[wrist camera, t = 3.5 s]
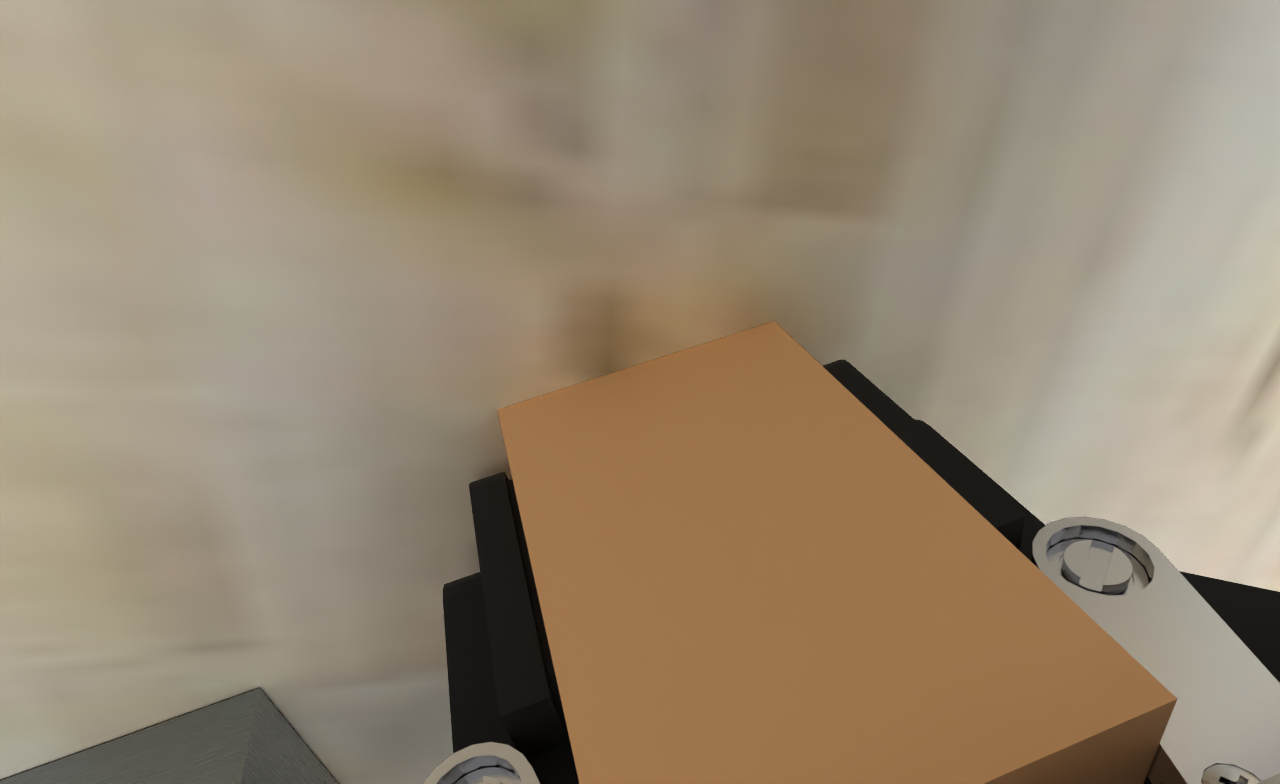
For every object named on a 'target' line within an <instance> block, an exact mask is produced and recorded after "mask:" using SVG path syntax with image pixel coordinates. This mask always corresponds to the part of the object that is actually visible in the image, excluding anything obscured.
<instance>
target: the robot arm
mask: <svg viewBox="0 0 1280 784" xmlns="http://www.w3.org/2000/svg"><path fill="white" fill-rule="evenodd" d="M823 367H824V368H825V369H826V370H827V371H828V372H829V373H830V374H831V375H832V376H833V377H834V378H836V379H837V380H838V381H839V382H840V383H841V384H842V385H843V386H844V387H845V388H846V389H847V390H848V391H849V392H851V393H852V394H853V395H854V396H855V397H856V398H857V399H858V400H859V401H860V402H861V403H862V404H863V405H864V406H865V407H867V408H868V409H869V410H870V411H871V412H872V413H873V414H874V415H875V416H876V417H877V418H878V419H879V420H880V421H881V422H883V423H884V424H885V425H886V426H887V427H888V428H889V429H890V430H891V431H892V432H893V433H894V434H895V435H896V436H897V437H899V438H900V439H901V440H902V441H903V442H904V443H905V444H906V445H907V446H908V447H909V448H910V449H911V450H912V451H914V452H915V453H916V454H917V455H918V456H919V457H920V458H921V459H922V460H923V461H924V462H925V463H926V464H927V465H928V466H930V467H931V468H932V469H933V470H934V471H935V472H936V473H937V474H938V475H939V476H940V477H941V478H942V479H943V480H944V481H946V482H947V483H948V484H949V485H950V486H951V487H952V488H953V489H954V490H955V491H956V492H957V493H958V494H959V495H960V496H962V497H963V498H964V499H965V500H966V501H967V502H968V503H969V504H970V505H971V506H972V507H973V508H974V509H975V510H977V511H978V512H979V513H980V514H981V515H982V516H983V517H984V518H985V519H986V520H987V521H988V522H989V523H990V524H991V525H993V526H994V527H995V528H996V529H997V530H998V531H999V532H1000V533H1001V534H1002V535H1003V536H1004V537H1005V538H1006V539H1007V540H1009V541H1010V542H1011V543H1012V544H1013V545H1014V546H1015V547H1016V548H1017V549H1018V550H1019V551H1020V552H1021V553H1022V554H1023V555H1025V556H1026V557H1027V558H1028V559H1029V560H1030V561H1031V562H1032V563H1033V564H1034V565H1035V566H1036V567H1037V568H1038V569H1040V570H1041V571H1042V572H1043V573H1044V574H1045V575H1046V576H1047V577H1048V578H1049V579H1050V580H1051V581H1052V582H1053V583H1054V584H1056V585H1057V586H1058V587H1059V588H1060V589H1061V590H1062V591H1063V592H1064V593H1065V594H1066V595H1067V596H1068V597H1069V598H1070V599H1072V600H1073V601H1074V602H1075V603H1076V604H1077V605H1078V606H1079V607H1080V608H1081V609H1082V610H1083V611H1084V612H1085V613H1086V614H1088V615H1089V616H1090V617H1091V618H1092V619H1093V620H1094V621H1095V622H1096V623H1097V624H1098V625H1099V626H1100V627H1101V628H1103V629H1104V630H1105V631H1106V632H1107V633H1108V634H1109V635H1110V636H1111V637H1112V638H1113V639H1114V640H1115V641H1116V642H1117V643H1119V644H1120V645H1121V646H1122V647H1123V648H1124V649H1125V650H1126V651H1127V652H1128V653H1129V654H1130V655H1131V656H1132V657H1133V658H1135V659H1136V660H1137V661H1138V662H1139V663H1140V664H1141V665H1142V666H1143V667H1144V668H1145V669H1146V670H1147V671H1148V672H1149V673H1151V674H1152V675H1153V676H1154V677H1155V678H1156V679H1157V680H1158V681H1159V682H1160V683H1161V684H1162V685H1163V686H1164V687H1166V688H1167V689H1168V690H1169V691H1170V692H1171V693H1172V694H1173V695H1174V696H1175V697H1176V698H1177V701H1176V704H1175V706H1174V709H1173V711H1172V714H1171V716H1170V719H1169V721H1168V724H1167V726H1166V729H1165V731H1164V734H1163V736H1162V739H1161V741H1160V744H1159V746H1158V749H1157V751H1156V753H1155V756H1154V758H1153V761H1152V763H1151V766H1150V768H1149V771H1148V773H1147V776H1146V778H1145V781H1144V783H1143V784H1280V592H1277V591H1272V590H1267V589H1262V588H1257V587H1253V586H1248V585H1243V584H1238V583H1233V582H1228V581H1224V580H1219V579H1214V578H1209V577H1204V576H1199V575H1194V574H1190V573H1185V572H1180V571H1178V570H1177V569H1176V568H1175V566H1174V565H1173V564H1172V563H1171V562H1170V561H1169V560H1168V559H1167V558H1166V556H1165V555H1164V554H1163V553H1162V552H1161V551H1160V550H1159V549H1158V548H1157V547H1156V546H1155V545H1154V544H1152V543H1151V542H1150V541H1149V540H1148V539H1147V538H1145V537H1144V536H1143V535H1141V534H1139V533H1137V532H1135V531H1133V530H1132V529H1130V528H1128V527H1126V526H1123V525H1120V524H1117V523H1114V522H1111V521H1108V520H1105V519H1098V518H1091V517H1070V518H1063V519H1060V520H1057V521H1054V522H1050V523H1049V524H1047V525H1044V524H1043V523H1042V522H1041V521H1040V520H1039V519H1037V518H1036V517H1035V516H1034V515H1033V514H1032V513H1031V512H1029V511H1028V510H1027V509H1026V508H1025V507H1024V506H1022V505H1021V504H1020V503H1019V502H1018V501H1017V500H1015V499H1014V498H1013V497H1012V496H1011V495H1010V494H1008V493H1007V492H1006V491H1005V490H1004V489H1003V488H1001V487H1000V486H999V485H998V484H997V483H996V482H994V481H993V480H992V479H991V478H990V477H989V476H987V475H986V474H985V473H984V472H983V471H982V470H980V469H979V468H978V467H977V466H976V465H975V464H974V463H972V462H971V461H970V460H969V459H968V458H967V457H965V456H964V455H963V454H962V453H961V452H960V451H958V450H957V449H956V448H955V447H954V446H953V445H951V444H950V443H949V442H948V441H947V440H946V439H944V438H943V437H942V436H941V435H940V434H939V433H937V432H936V431H935V430H934V429H933V428H932V427H930V426H929V425H928V424H926V423H925V422H923V421H920V420H914V419H913V418H912V417H911V416H909V415H908V414H907V413H906V412H905V411H904V410H902V409H901V408H900V407H899V406H898V405H897V404H896V403H894V402H893V401H892V400H891V399H890V398H889V397H888V396H886V395H885V394H884V393H883V392H882V391H881V390H880V389H878V388H877V387H876V386H875V385H874V384H873V383H872V382H870V381H869V380H868V379H867V378H866V377H865V376H864V375H862V374H861V373H860V372H859V371H858V370H857V369H856V368H854V367H853V366H852V365H851V364H850V363H849V362H847V361H845V360H838V361H835V362H832V363H829V364H826V365H823ZM469 489H470V497H471V504H472V512H473V519H474V527H475V534H476V542H477V549H478V557H479V565H480V572H478V573H476V574H473V575H470V576H467V577H464V578H461V579H459V580H456V581H453V582H450V583H447V584H444V588H443V607H444V621H445V636H446V651H447V666H448V681H449V696H450V711H451V725H452V740H453V754H452V755H451V756H450V757H448V758H447V759H446V760H444V761H443V762H442V763H441V764H439V765H438V766H437V767H436V768H435V769H434V770H433V771H432V773H431V774H430V775H429V776H428V778H427V779H426V780H425V781H424V783H423V784H579V779H578V775H577V770H576V766H575V761H574V757H573V752H572V748H571V743H570V738H569V734H568V729H567V725H566V720H565V716H564V711H563V707H562V702H561V698H560V693H559V688H558V684H557V679H556V675H555V670H554V666H553V661H552V657H551V652H550V647H549V643H548V638H547V634H546V629H545V625H544V620H543V616H542V611H541V607H540V602H539V597H538V593H537V588H536V584H535V579H534V575H533V570H532V566H531V561H530V556H529V552H528V547H527V543H526V538H525V534H524V529H523V525H522V520H521V516H520V511H519V506H518V502H517V497H516V493H515V488H514V484H513V479H511V480H508V477H507V475H506V473H505V472H501V473H498V474H495V475H492V476H489V477H486V478H483V479H480V480H477V481H474V482H471V483H470V484H469Z"/></svg>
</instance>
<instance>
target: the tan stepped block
mask: <svg viewBox="0 0 1280 784" xmlns="http://www.w3.org/2000/svg"><path fill="white" fill-rule="evenodd" d="M497 411H498V415H499V420H500V425H501V429H502V434H503V438H504V443H505V447H506V452H507V456H508V461H509V465H510V470H511V475H512V479H513V484H514V488H515V493H516V497H517V502H518V506H519V511H520V516H521V520H522V525H523V529H524V534H525V538H526V543H527V547H528V552H529V556H530V561H531V566H532V570H533V575H534V579H535V584H536V588H537V593H538V597H539V602H540V607H541V611H542V616H543V620H544V625H545V629H546V634H547V638H548V643H549V647H550V652H551V657H552V661H553V666H554V670H555V675H556V679H557V684H558V688H559V693H560V698H561V702H562V707H563V711H564V716H565V720H566V725H567V729H568V734H569V738H570V743H571V748H572V752H573V757H574V761H575V766H576V770H577V775H578V779H579V784H1143V783H1144V781H1145V778H1146V776H1147V773H1148V771H1149V768H1150V766H1151V763H1152V761H1153V758H1154V756H1155V753H1156V751H1157V749H1158V746H1159V744H1160V741H1161V739H1162V736H1163V734H1164V731H1165V729H1166V726H1167V724H1168V721H1169V719H1170V716H1171V714H1172V711H1173V709H1174V706H1175V704H1176V701H1177V698H1176V697H1175V696H1174V695H1173V694H1172V693H1171V692H1170V691H1169V690H1168V689H1167V688H1166V687H1164V686H1163V685H1162V684H1161V683H1160V682H1159V681H1158V680H1157V679H1156V678H1155V677H1154V676H1153V675H1152V674H1151V673H1149V672H1148V671H1147V670H1146V669H1145V668H1144V667H1143V666H1142V665H1141V664H1140V663H1139V662H1138V661H1137V660H1136V659H1135V658H1133V657H1132V656H1131V655H1130V654H1129V653H1128V652H1127V651H1126V650H1125V649H1124V648H1123V647H1122V646H1121V645H1120V644H1119V643H1117V642H1116V641H1115V640H1114V639H1113V638H1112V637H1111V636H1110V635H1109V634H1108V633H1107V632H1106V631H1105V630H1104V629H1103V628H1101V627H1100V626H1099V625H1098V624H1097V623H1096V622H1095V621H1094V620H1093V619H1092V618H1091V617H1090V616H1089V615H1088V614H1086V613H1085V612H1084V611H1083V610H1082V609H1081V608H1080V607H1079V606H1078V605H1077V604H1076V603H1075V602H1074V601H1073V600H1072V599H1070V598H1069V597H1068V596H1067V595H1066V594H1065V593H1064V592H1063V591H1062V590H1061V589H1060V588H1059V587H1058V586H1057V585H1056V584H1054V583H1053V582H1052V581H1051V580H1050V579H1049V578H1048V577H1047V576H1046V575H1045V574H1044V573H1043V572H1042V571H1041V570H1040V569H1038V568H1037V567H1036V566H1035V565H1034V564H1033V563H1032V562H1031V561H1030V560H1029V559H1028V558H1027V557H1026V556H1025V555H1023V554H1022V553H1021V552H1020V551H1019V550H1018V549H1017V548H1016V547H1015V546H1014V545H1013V544H1012V543H1011V542H1010V541H1009V540H1007V539H1006V538H1005V537H1004V536H1003V535H1002V534H1001V533H1000V532H999V531H998V530H997V529H996V528H995V527H994V526H993V525H991V524H990V523H989V522H988V521H987V520H986V519H985V518H984V517H983V516H982V515H981V514H980V513H979V512H978V511H977V510H975V509H974V508H973V507H972V506H971V505H970V504H969V503H968V502H967V501H966V500H965V499H964V498H963V497H962V496H960V495H959V494H958V493H957V492H956V491H955V490H954V489H953V488H952V487H951V486H950V485H949V484H948V483H947V482H946V481H944V480H943V479H942V478H941V477H940V476H939V475H938V474H937V473H936V472H935V471H934V470H933V469H932V468H931V467H930V466H928V465H927V464H926V463H925V462H924V461H923V460H922V459H921V458H920V457H919V456H918V455H917V454H916V453H915V452H914V451H912V450H911V449H910V448H909V447H908V446H907V445H906V444H905V443H904V442H903V441H902V440H901V439H900V438H899V437H897V436H896V435H895V434H894V433H893V432H892V431H891V430H890V429H889V428H888V427H887V426H886V425H885V424H884V423H883V422H881V421H880V420H879V419H878V418H877V417H876V416H875V415H874V414H873V413H872V412H871V411H870V410H869V409H868V408H867V407H865V406H864V405H863V404H862V403H861V402H860V401H859V400H858V399H857V398H856V397H855V396H854V395H853V394H852V393H851V392H849V391H848V390H847V389H846V388H845V387H844V386H843V385H842V384H841V383H840V382H839V381H838V380H837V379H836V378H834V377H833V376H832V375H831V374H830V373H829V372H828V371H827V370H826V369H825V368H824V367H823V366H822V365H821V364H820V363H818V362H817V361H816V360H815V359H814V358H813V357H812V356H811V355H810V354H809V353H808V352H807V351H806V350H805V349H804V348H802V347H801V346H800V345H799V344H798V343H797V342H796V341H795V340H794V339H793V338H792V337H791V336H790V335H789V334H788V333H786V332H785V331H784V330H783V329H782V328H781V327H780V326H779V325H778V324H777V323H776V322H775V321H773V322H770V323H767V324H763V325H760V326H757V327H754V328H751V329H748V330H745V331H742V332H738V333H735V334H732V335H729V336H726V337H723V338H720V339H717V340H713V341H710V342H707V343H704V344H701V345H698V346H695V347H691V348H688V349H685V350H682V351H679V352H676V353H673V354H670V355H666V356H663V357H660V358H657V359H654V360H651V361H648V362H645V363H641V364H638V365H635V366H632V367H629V368H626V369H623V370H619V371H616V372H613V373H610V374H607V375H604V376H601V377H598V378H594V379H591V380H588V381H585V382H582V383H579V384H576V385H573V386H569V387H566V388H563V389H560V390H557V391H554V392H551V393H547V394H544V395H541V396H538V397H535V398H532V399H529V400H526V401H522V402H519V403H516V404H513V405H510V406H507V407H504V408H501V409H497Z"/></svg>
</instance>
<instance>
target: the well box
mask: <svg viewBox="0 0 1280 784" xmlns="http://www.w3.org/2000/svg"><path fill="white" fill-rule="evenodd" d="M0 784H338V783H337V782H336V780H335V779H334V778H333V777H332V776H331V774H330V773H329V772H328V771H327V770H326V768H325V767H324V766H323V765H322V763H321V762H320V761H319V760H318V759H317V757H316V756H315V755H314V754H313V753H312V751H311V750H310V749H309V748H308V746H307V745H306V744H305V743H304V742H303V740H302V739H301V738H300V737H299V735H298V734H297V733H296V732H295V731H294V729H293V728H292V727H291V726H290V725H289V723H288V722H287V721H286V720H285V718H284V717H283V716H282V715H281V714H280V712H279V711H278V710H277V709H276V708H275V706H274V705H273V704H272V703H271V701H270V700H269V699H268V698H267V697H266V695H265V694H264V693H263V692H262V690H261V689H260V688H258V689H255V690H252V691H250V692H247V693H244V694H241V695H238V696H236V697H233V698H230V699H227V700H224V701H222V702H219V703H216V704H213V705H211V706H208V707H205V708H202V709H199V710H197V711H194V712H191V713H188V714H185V715H183V716H180V717H177V718H174V719H171V720H169V721H166V722H163V723H160V724H157V725H155V726H152V727H149V728H146V729H143V730H141V731H138V732H135V733H132V734H129V735H127V736H124V737H121V738H118V739H116V740H113V741H110V742H107V743H104V744H102V745H99V746H96V747H93V748H90V749H88V750H85V751H82V752H79V753H76V754H74V755H71V756H68V757H65V758H62V759H60V760H57V761H54V762H51V763H48V764H46V765H43V766H40V767H37V768H34V769H32V770H29V771H26V772H23V773H21V774H18V775H15V776H12V777H9V778H7V779H4V780H1V781H0Z"/></svg>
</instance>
